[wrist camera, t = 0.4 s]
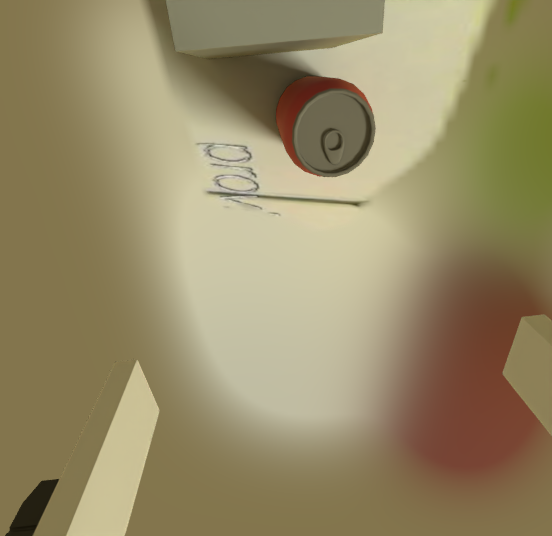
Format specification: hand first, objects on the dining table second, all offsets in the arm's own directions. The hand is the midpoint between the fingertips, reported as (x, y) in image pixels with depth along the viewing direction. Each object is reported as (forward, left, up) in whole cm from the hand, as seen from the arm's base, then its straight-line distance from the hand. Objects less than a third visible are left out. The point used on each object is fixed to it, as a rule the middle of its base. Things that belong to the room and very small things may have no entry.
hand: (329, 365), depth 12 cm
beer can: (-5, +3, -27) cm, 28 cm away
